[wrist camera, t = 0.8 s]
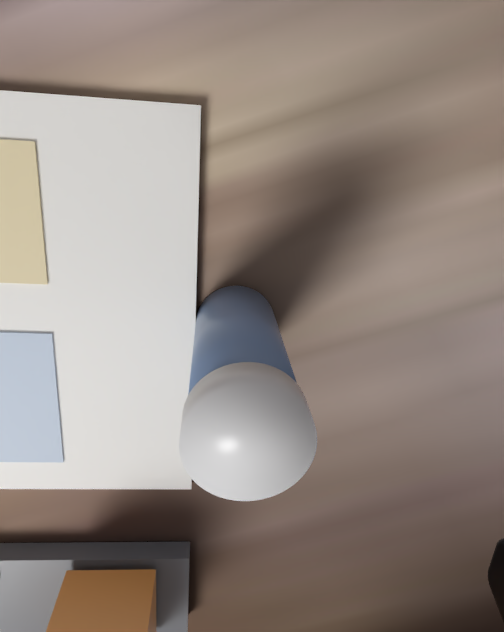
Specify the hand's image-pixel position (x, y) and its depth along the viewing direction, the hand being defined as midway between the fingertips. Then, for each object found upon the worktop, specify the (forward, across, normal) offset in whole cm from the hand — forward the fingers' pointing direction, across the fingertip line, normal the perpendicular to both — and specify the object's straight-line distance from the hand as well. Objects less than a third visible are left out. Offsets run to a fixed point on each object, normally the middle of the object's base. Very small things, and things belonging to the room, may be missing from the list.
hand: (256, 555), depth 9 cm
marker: (+12, 0, 0) cm, 12 cm away
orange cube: (+10, +5, +14) cm, 18 cm away
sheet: (+12, +9, 0) cm, 15 cm away
